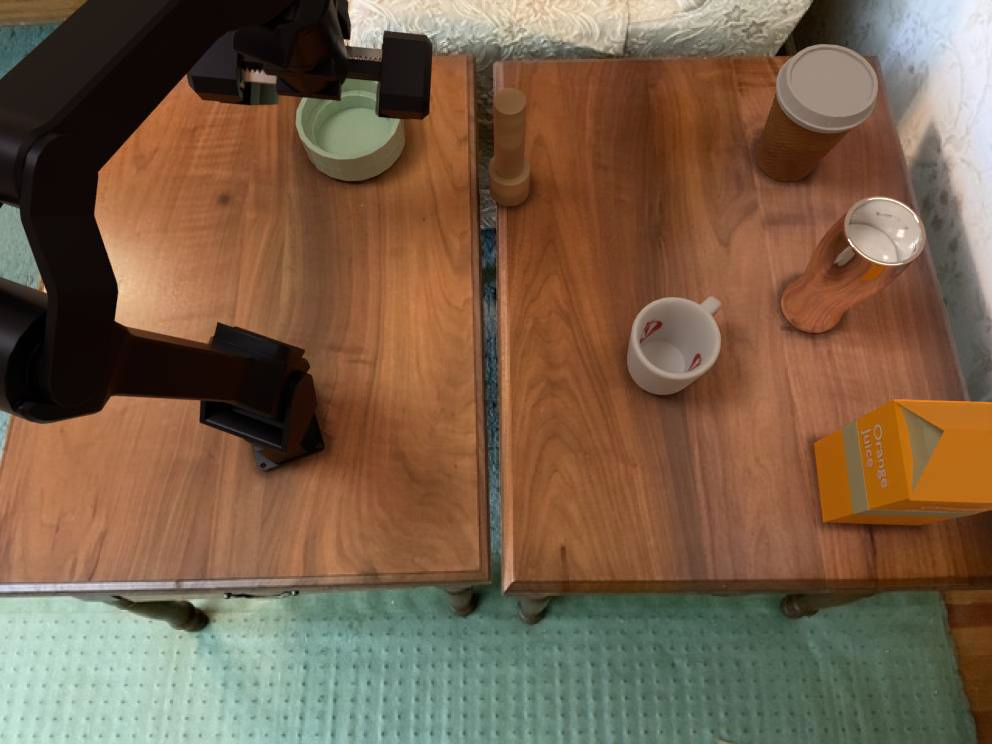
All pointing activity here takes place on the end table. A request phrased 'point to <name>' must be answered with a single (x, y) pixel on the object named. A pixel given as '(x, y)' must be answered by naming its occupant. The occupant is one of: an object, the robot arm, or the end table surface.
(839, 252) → the beer glass
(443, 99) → the end table surface
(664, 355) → the cup
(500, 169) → the rod
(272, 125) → the end table surface
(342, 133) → the bowl
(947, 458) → the orange juice
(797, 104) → the disposable coffee cup
